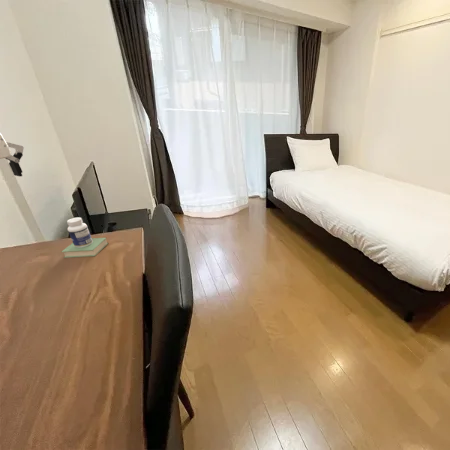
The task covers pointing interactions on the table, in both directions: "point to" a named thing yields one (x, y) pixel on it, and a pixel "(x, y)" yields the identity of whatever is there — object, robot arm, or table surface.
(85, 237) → the pill bottle
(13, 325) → the table surface
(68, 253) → the book
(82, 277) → the table surface
